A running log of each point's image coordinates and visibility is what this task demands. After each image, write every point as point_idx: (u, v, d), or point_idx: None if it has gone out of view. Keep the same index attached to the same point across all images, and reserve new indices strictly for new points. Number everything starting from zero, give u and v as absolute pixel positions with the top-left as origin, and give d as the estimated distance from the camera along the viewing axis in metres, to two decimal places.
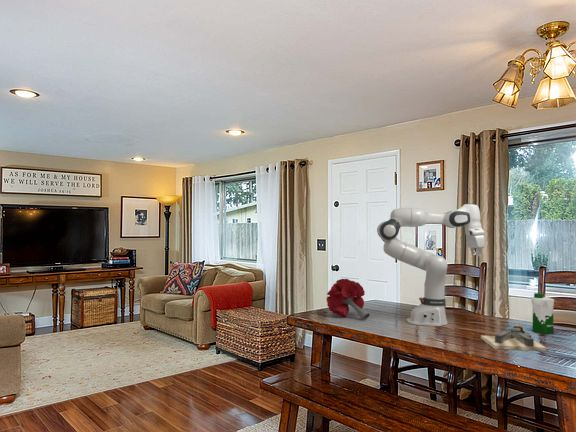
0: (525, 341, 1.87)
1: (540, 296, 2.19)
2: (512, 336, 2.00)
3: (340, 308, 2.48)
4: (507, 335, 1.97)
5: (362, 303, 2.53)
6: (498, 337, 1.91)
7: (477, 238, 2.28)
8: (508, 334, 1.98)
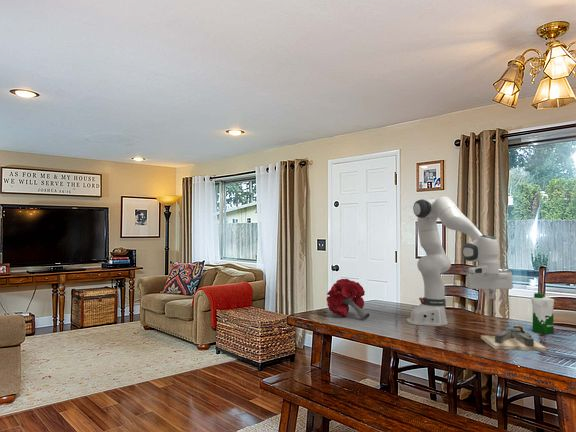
0: (525, 341, 1.87)
1: (540, 296, 2.19)
2: (512, 336, 2.00)
3: (340, 308, 2.48)
4: (507, 335, 1.97)
5: (363, 303, 2.53)
6: (498, 337, 1.91)
7: (467, 276, 2.01)
8: (508, 334, 1.98)
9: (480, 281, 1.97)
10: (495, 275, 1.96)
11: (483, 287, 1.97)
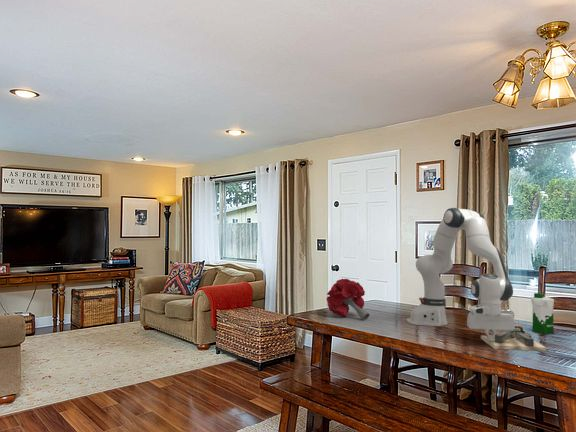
0: (525, 341, 1.87)
1: (540, 296, 2.19)
2: (512, 336, 2.00)
3: (340, 308, 2.48)
4: (507, 335, 1.97)
5: (363, 303, 2.53)
6: (498, 337, 1.91)
7: (468, 315, 1.96)
8: (508, 334, 1.98)
9: (481, 321, 1.92)
10: (496, 316, 1.91)
11: (484, 328, 1.92)
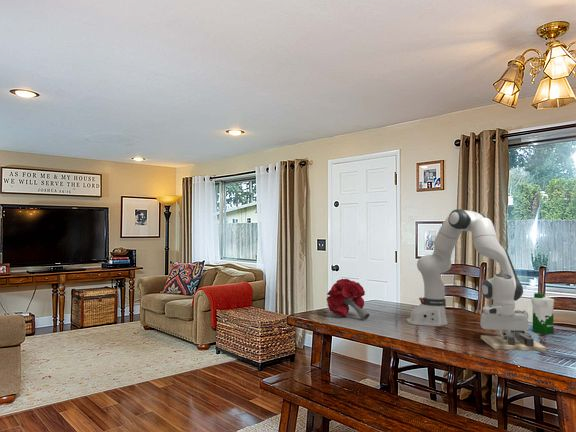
0: (525, 341, 1.87)
1: (540, 296, 2.19)
2: None
3: (340, 308, 2.48)
4: None
5: (363, 303, 2.53)
6: (512, 339, 1.87)
7: (481, 315, 1.95)
8: None
9: (494, 322, 1.91)
10: (510, 316, 1.90)
11: (497, 328, 1.91)
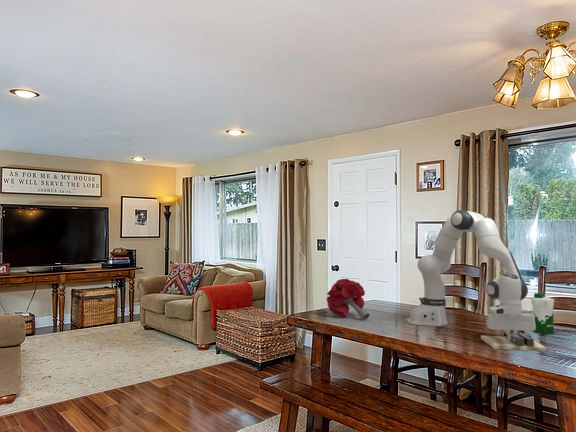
0: (525, 341, 1.87)
1: (540, 296, 2.19)
2: None
3: (340, 308, 2.48)
4: None
5: (363, 303, 2.53)
6: (521, 340, 1.86)
7: (488, 316, 1.94)
8: None
9: (501, 322, 1.91)
10: (517, 316, 1.89)
11: (504, 328, 1.90)
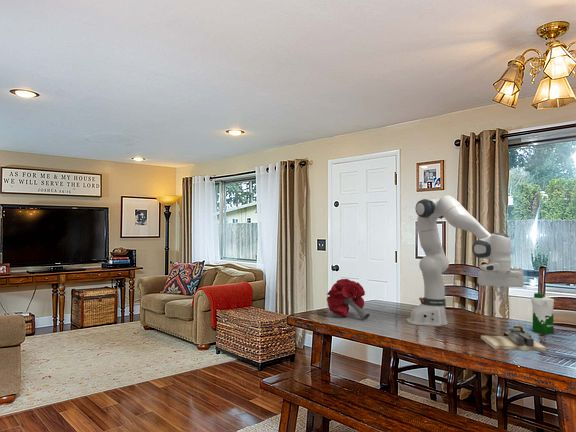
0: (525, 341, 1.87)
1: (540, 296, 2.19)
2: None
3: (340, 308, 2.47)
4: None
5: (363, 303, 2.53)
6: (521, 340, 1.86)
7: (478, 273, 2.02)
8: None
9: (491, 278, 1.98)
10: (506, 273, 1.97)
11: (494, 284, 1.98)
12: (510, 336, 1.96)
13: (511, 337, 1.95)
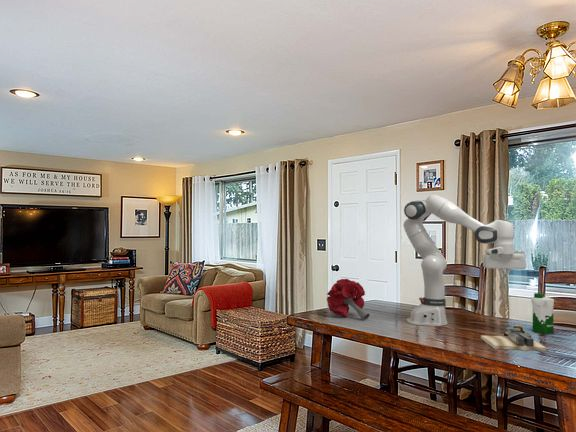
0: (525, 341, 1.87)
1: (540, 296, 2.19)
2: None
3: (340, 308, 2.47)
4: None
5: (363, 303, 2.53)
6: (521, 340, 1.86)
7: (484, 257, 2.17)
8: None
9: (496, 261, 2.13)
10: (510, 256, 2.12)
11: (498, 267, 2.13)
12: (510, 336, 1.96)
13: (511, 337, 1.95)
